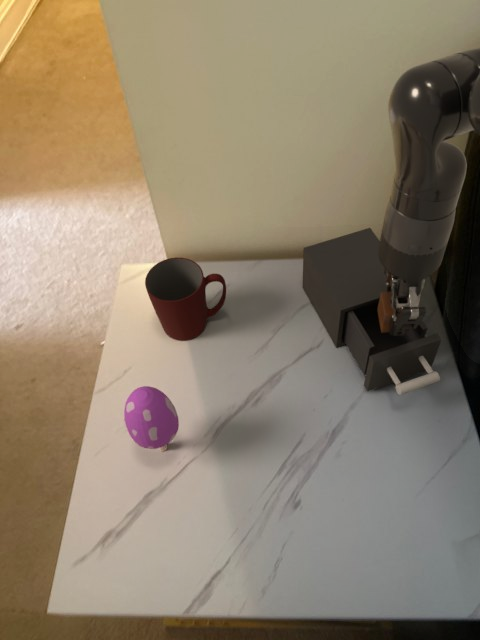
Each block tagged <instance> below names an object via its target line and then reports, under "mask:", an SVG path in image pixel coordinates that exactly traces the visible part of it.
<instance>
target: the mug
mask: <svg viewBox="0 0 480 640" xmlns="http://www.w3.org/2000/svg"><path fill="white" fill-rule="evenodd" d="M214 282H215V283H216V282H217V283H221V285H222V292H221V296H220V298H219V300H218V302H217V303H216V304H215V305H214V306H213V307H211V308H209V307H208V305H207V293H206V289H207V286H208V284H210V283H214ZM144 285H145V289H146V292H147V295H148V298H149V300H150V302H151V305H152V307H153V309H154V312H155V314H156V316H157V318H158V321H159V323H160V325H161V327H162V329H163V331H164V333H165V335H167V336H168V337H169V338H171V339H172V340H175V341H183V342H184V341H190V340H193V339H195V338H197V337H198V336H200V335H201V334H202V333H203V332H204V331H205V329H206V327H207V324H208V319H210V318H212V317H214V316H215V315H217V314H218V313H219V312H220V311H221V309H222V307H223V306H224V304H225V301H226V298H227V284H226V281H225V278H224V277H223V275H221V274H219V273H210V274H208V275H206V276H204V272H203V269H202V267H201V266H200V264H198V263H197V262H196V261H194V260H192V259H190V258H188V257H187V258H186V257H170V258H167V259H163V260H161V261H159V262H158V263H156V264H154V265H153V266H152V267H150V269H149V270H148V272H147V273H146V276H145V280H144Z"/></svg>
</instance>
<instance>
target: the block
mask: <svg viewBox="0 0 480 640" xmlns="http://www.w3.org/2000/svg"><path fill="white" fill-rule="evenodd" d="M390 296H391V292H381V294H380V299H379V304H378V309H377V311H378V317H379V322H380V328H381V332H382V333H383V332H389V327H390V323H391V319H392V312H393V308H392V305H391V302H390ZM397 298H399V297H398V296H397ZM399 312H401V308H400V309H399ZM410 331H411V329H407V331H406V332H410Z"/></svg>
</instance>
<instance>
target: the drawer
mask: <svg viewBox="0 0 480 640" xmlns="http://www.w3.org/2000/svg"><path fill="white" fill-rule="evenodd" d="M378 304H379V301H378V302H374V303H371V304H368V305H365V306H362V307H359V308H356V309H353V310H350V311H347V312H345V316H344V324H343V332H342V338H343V339H344V341H345V343H346V345H345V346H346V347H347V348H348V350H349V352H350V353H351V355H352V358H354V360H355V362H356V364H357V366H358V368H359V369H360V371H361V373H362V375H363V376H365V377H364V383H363V386H364V388H365V390H366V391H367V392H370V391H373V390H376V389H378V388H381V387H384V386H387V385H390V384H393V383H394V384H395V390H396V392H397V394H398V395H399V396H401V395H404V394H407V393H410V392H412V391H413V392H414V390H418V389H420V388H424V387H426V386H430V385H432V384H435V383H438V382H440V381H441V377H440V374H439V373H438V371H434V370H433V368H432V367H433V364H434V361H435V359H436V356H437V353H438V350H439V348H440V345H441V343H442V337H441V335H439V333H438V332H436V333H433V334H430V335H427V336H426V334H427V331H428V326H427V325H426V324H425V322H424V321H423V320H422V321H421V322H420V323H419V325H418V326H417V327H416V329H411V331H410V332H406V334H405V335H404V336H392V335H390V333H389V332H383V333H382V332H381V328H380V322H379V317H378V311H377V309H378ZM424 372H427V373H426V374H423V375H421V376H418V377H415V378H413V379H409V380H406V381H404V382H401V380H404V379H407V378H409V377H413V376H416V375H418V374H422V373H424Z"/></svg>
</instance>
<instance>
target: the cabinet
mask: <svg viewBox="0 0 480 640" xmlns="http://www.w3.org/2000/svg"><path fill="white" fill-rule="evenodd" d="M379 244H380V239H379V238H378V237H377V235H376V233H375V232H374V231H373V230H372V228H371V227H367V228H364V229H360V230H357V231H354V232H351V233H348V234H344V235H341V236H338V237H334V238H332V239H328V240H325V241H321V242H318V243H315V244H311V245H309V246H305V247H303V248H302V249H303V251H302V255H303V256H302V286H301V287H302V289H303V291H304V293H305V295H306V296H307V298H308V300H309V303H310V304H311V306H312V307H313V309H314V311H315V313H316V314H317V317H318V318H319V320H320V321H321V324H322V325H323V327H324V328H325V331H326V332H327V334H328V336H329V338H330V340H331V341H332V343H333V345H334V347H335V348H336V349H338V348H341V347H344V346H347V345H346V343H345V341H344V339H343V338H342V332H343V324H344V316H345V312H347V311H350V310H353V309H356V308H359V307H362V306H365V305H368V304H371V303H374V302H378V301H379V299H380V294H381V292H386V291H387V288H386V286H385V283H386V276H385V273H384V270H385V268H384V267H383V265H382V264H381V262H380V260H379V256H378V250H379Z"/></svg>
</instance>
